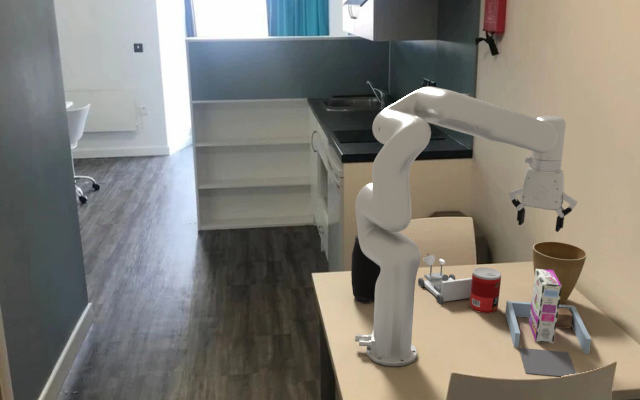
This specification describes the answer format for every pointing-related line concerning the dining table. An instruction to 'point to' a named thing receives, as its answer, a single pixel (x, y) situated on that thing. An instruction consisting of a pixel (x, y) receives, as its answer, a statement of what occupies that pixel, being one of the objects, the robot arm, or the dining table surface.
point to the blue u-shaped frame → (524, 311)
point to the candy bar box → (544, 305)
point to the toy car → (445, 283)
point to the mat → (546, 362)
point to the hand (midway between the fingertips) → (539, 226)
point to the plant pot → (560, 263)
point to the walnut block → (564, 318)
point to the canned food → (485, 290)
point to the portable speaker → (363, 275)
